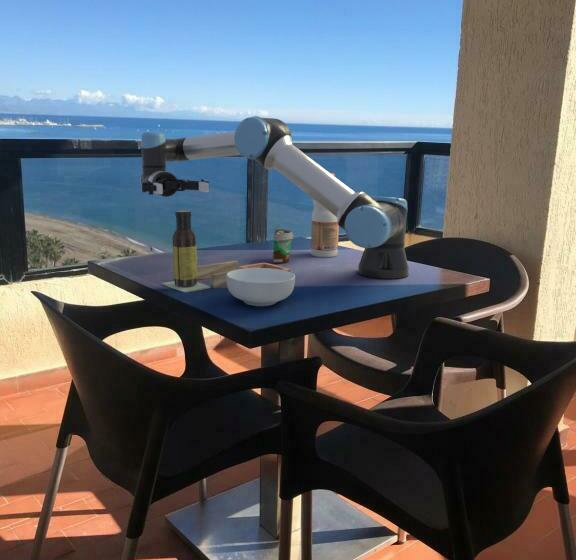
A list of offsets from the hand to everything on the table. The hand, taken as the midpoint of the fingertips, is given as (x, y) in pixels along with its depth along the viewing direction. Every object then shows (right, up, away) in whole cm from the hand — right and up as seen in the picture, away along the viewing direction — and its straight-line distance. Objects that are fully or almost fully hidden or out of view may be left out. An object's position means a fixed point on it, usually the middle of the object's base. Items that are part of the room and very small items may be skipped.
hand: (184, 188), depth 169 cm
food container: (+28, -20, +27) cm, 43 cm away
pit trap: (+22, -24, +10) cm, 34 cm away
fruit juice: (+42, -17, +39) cm, 60 cm away
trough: (+11, -26, +1) cm, 28 cm away
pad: (+2, -27, -8) cm, 29 cm away
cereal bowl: (+22, -31, -21) cm, 44 cm away
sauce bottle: (+2, -27, -8) cm, 29 cm away
